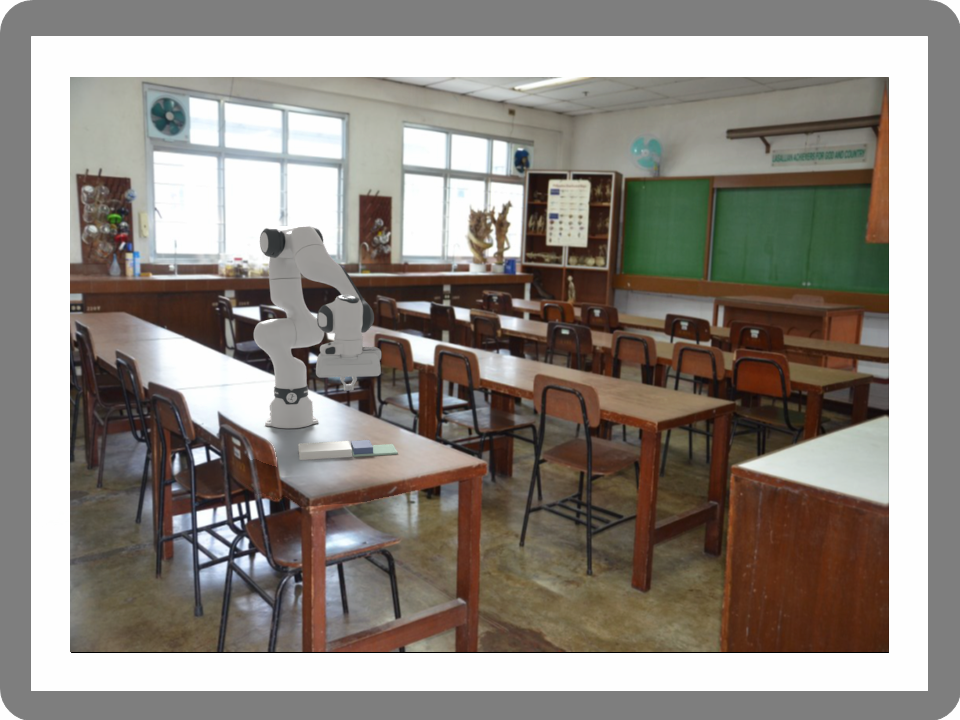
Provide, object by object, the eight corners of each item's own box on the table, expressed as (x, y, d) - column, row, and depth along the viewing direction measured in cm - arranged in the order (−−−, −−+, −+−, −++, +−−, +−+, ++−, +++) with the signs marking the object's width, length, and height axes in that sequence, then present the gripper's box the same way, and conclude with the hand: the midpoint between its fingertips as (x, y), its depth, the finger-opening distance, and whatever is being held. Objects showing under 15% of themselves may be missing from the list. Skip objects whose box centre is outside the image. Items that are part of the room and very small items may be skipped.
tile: (351, 446, 256) (350, 440, 256) (369, 445, 258) (369, 439, 257) (354, 454, 247) (353, 448, 247) (373, 453, 249) (373, 447, 249)
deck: (298, 451, 252) (298, 443, 252) (348, 448, 256) (348, 440, 256) (299, 460, 243) (299, 452, 242) (351, 456, 247) (351, 449, 246)
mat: (350, 448, 256) (350, 446, 256) (393, 445, 260) (393, 444, 260) (353, 456, 247) (353, 454, 247) (397, 454, 251) (397, 452, 250)
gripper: (380, 345, 253) (379, 387, 256) (315, 346, 248) (315, 388, 250) (382, 348, 247) (382, 391, 250) (316, 349, 242) (316, 393, 244)
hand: (348, 390), depth 250 cm, fingers closed
